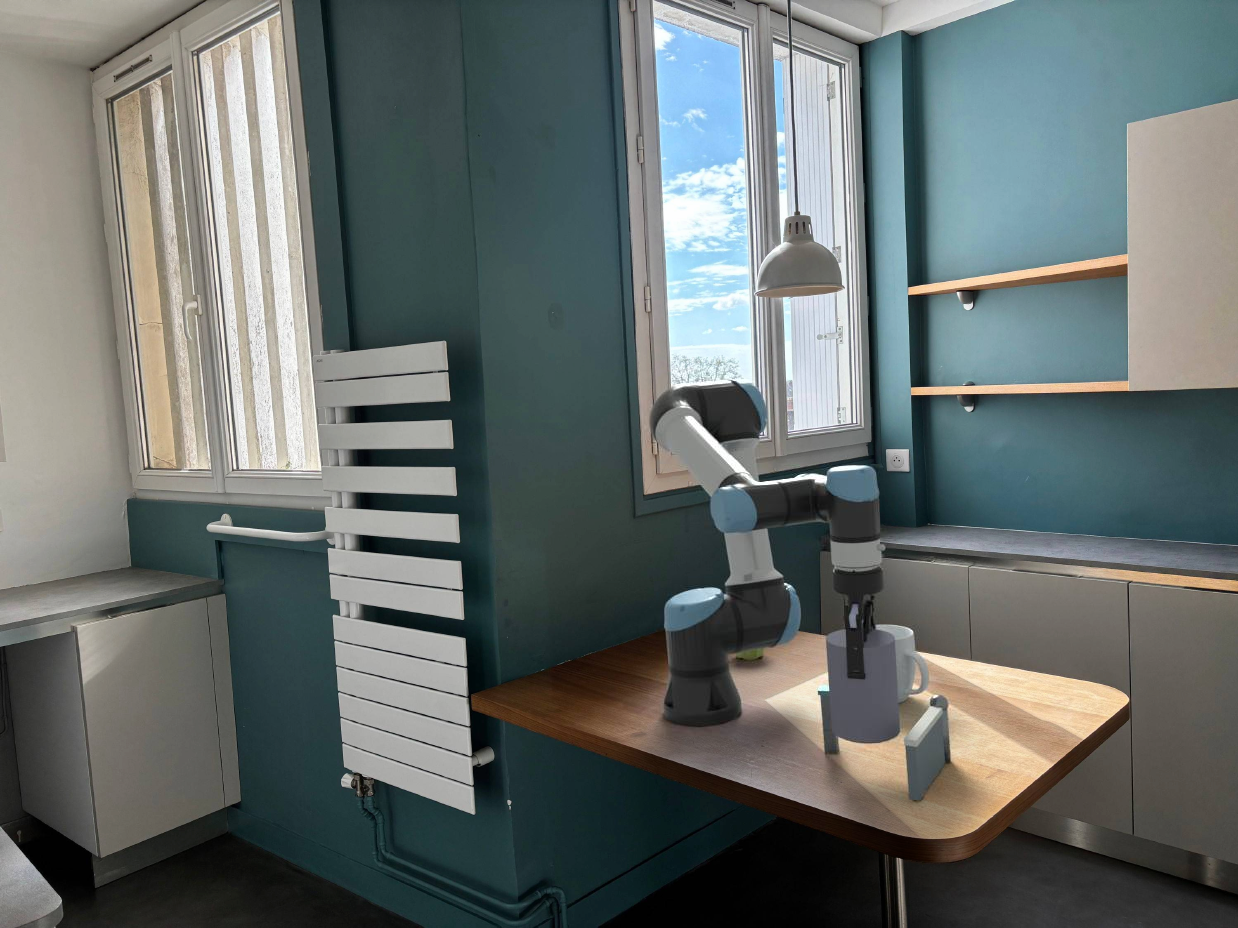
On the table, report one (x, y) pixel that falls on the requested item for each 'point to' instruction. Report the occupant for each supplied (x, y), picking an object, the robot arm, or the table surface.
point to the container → (864, 690)
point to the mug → (906, 661)
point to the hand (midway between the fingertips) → (866, 709)
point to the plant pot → (751, 654)
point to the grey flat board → (924, 752)
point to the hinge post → (943, 703)
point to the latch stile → (827, 722)
